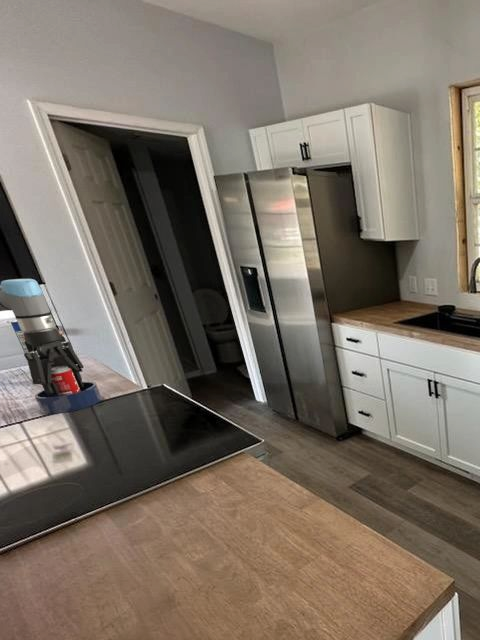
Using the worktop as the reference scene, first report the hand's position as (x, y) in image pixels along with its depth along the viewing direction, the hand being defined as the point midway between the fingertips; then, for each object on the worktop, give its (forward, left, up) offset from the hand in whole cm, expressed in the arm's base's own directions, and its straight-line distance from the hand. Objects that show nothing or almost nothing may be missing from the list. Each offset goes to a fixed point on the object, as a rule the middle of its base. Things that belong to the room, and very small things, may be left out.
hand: (69, 396), depth 137 cm
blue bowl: (0, 0, -3) cm, 3 cm away
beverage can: (0, 0, -2) cm, 2 cm away
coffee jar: (-27, +31, -3) cm, 41 cm away
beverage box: (-38, +41, -3) cm, 56 cm away
